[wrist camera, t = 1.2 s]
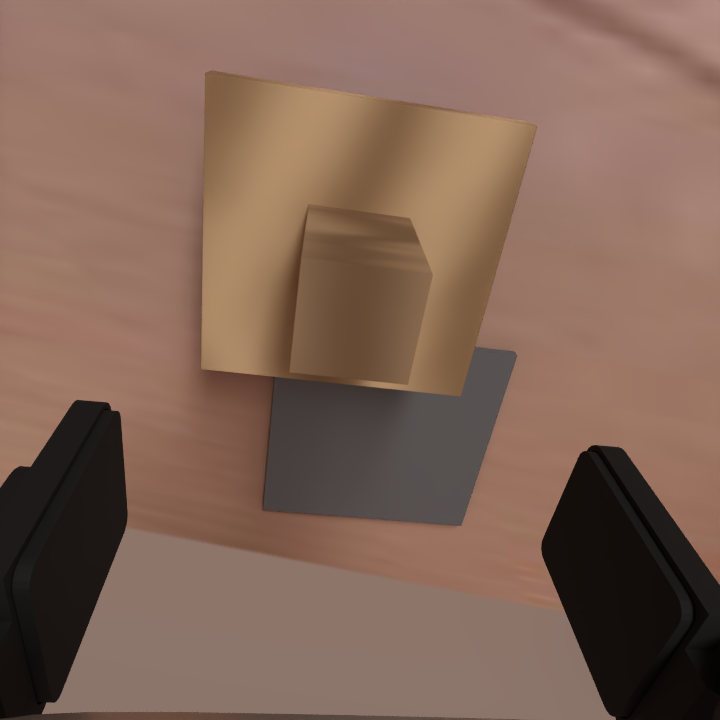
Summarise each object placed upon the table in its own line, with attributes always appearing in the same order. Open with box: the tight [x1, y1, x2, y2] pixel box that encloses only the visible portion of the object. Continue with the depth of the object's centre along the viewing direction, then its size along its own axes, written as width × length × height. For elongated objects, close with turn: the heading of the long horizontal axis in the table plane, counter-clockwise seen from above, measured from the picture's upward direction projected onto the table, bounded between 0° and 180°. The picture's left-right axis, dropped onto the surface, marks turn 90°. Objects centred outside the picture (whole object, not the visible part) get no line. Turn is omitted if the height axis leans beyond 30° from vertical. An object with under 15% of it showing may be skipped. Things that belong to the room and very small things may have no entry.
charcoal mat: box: [263, 347, 517, 526], centre depth 37 cm, size 14×14×1 cm
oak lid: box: [201, 71, 537, 396], centre depth 21 cm, size 12×12×7 cm
